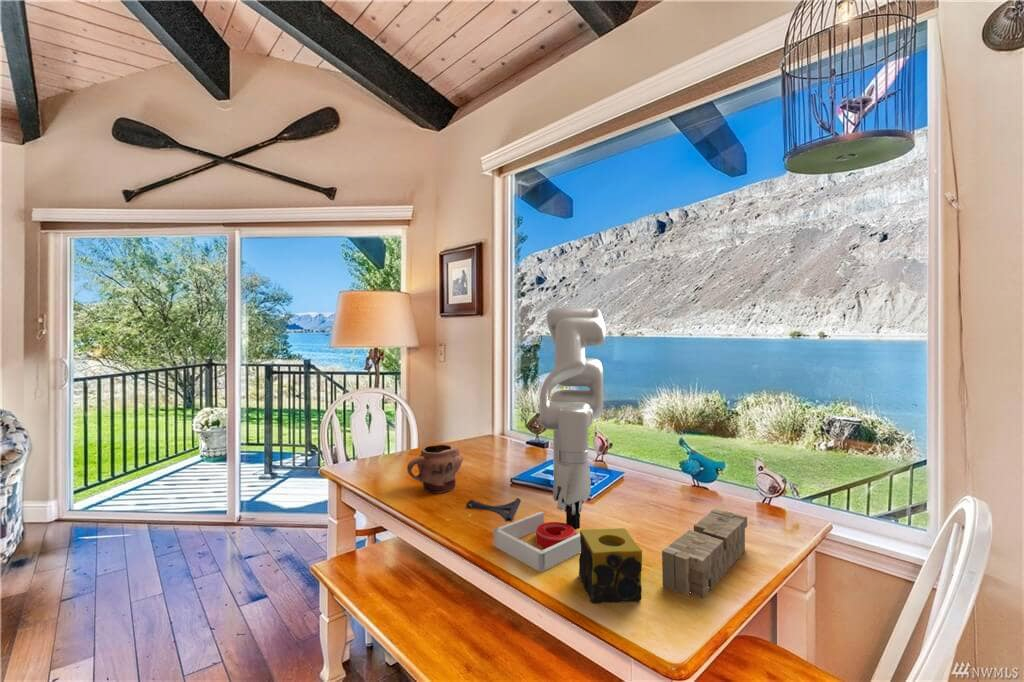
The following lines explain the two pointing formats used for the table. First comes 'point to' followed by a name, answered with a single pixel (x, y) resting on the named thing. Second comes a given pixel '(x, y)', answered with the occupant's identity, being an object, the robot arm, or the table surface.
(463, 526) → the table surface
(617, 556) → the olive cube with hole
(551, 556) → the rail
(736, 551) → the block tower
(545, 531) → the decorative ornament
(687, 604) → the table surface
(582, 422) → the robot arm
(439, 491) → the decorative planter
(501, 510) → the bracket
